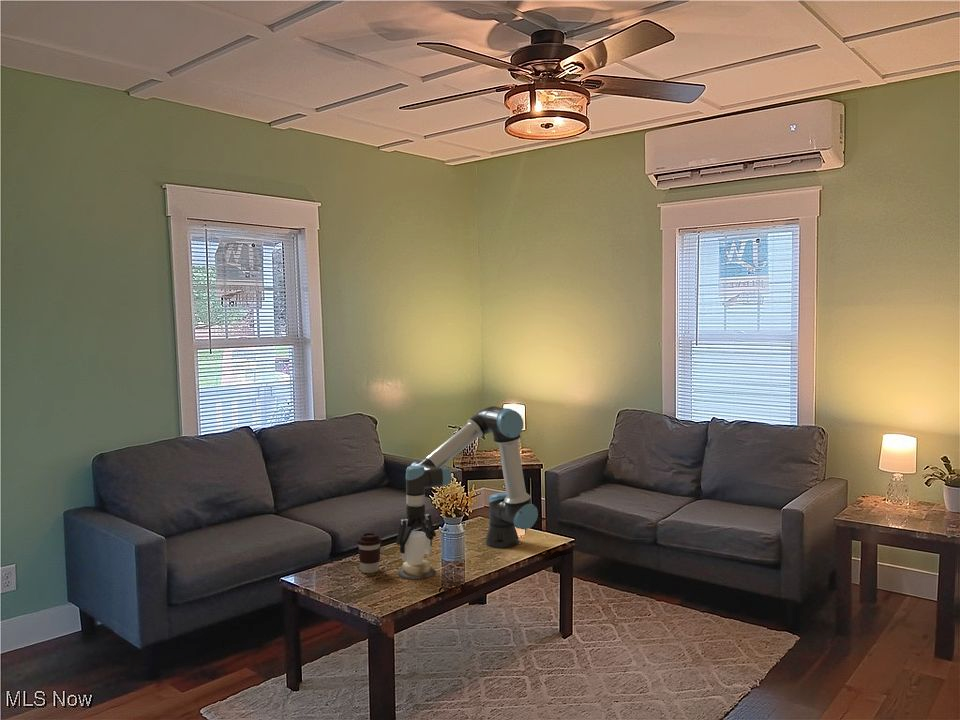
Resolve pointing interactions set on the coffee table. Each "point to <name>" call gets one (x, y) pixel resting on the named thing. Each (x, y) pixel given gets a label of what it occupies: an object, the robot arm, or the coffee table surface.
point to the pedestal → (416, 571)
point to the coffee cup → (369, 552)
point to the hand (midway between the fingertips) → (416, 557)
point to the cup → (416, 547)
